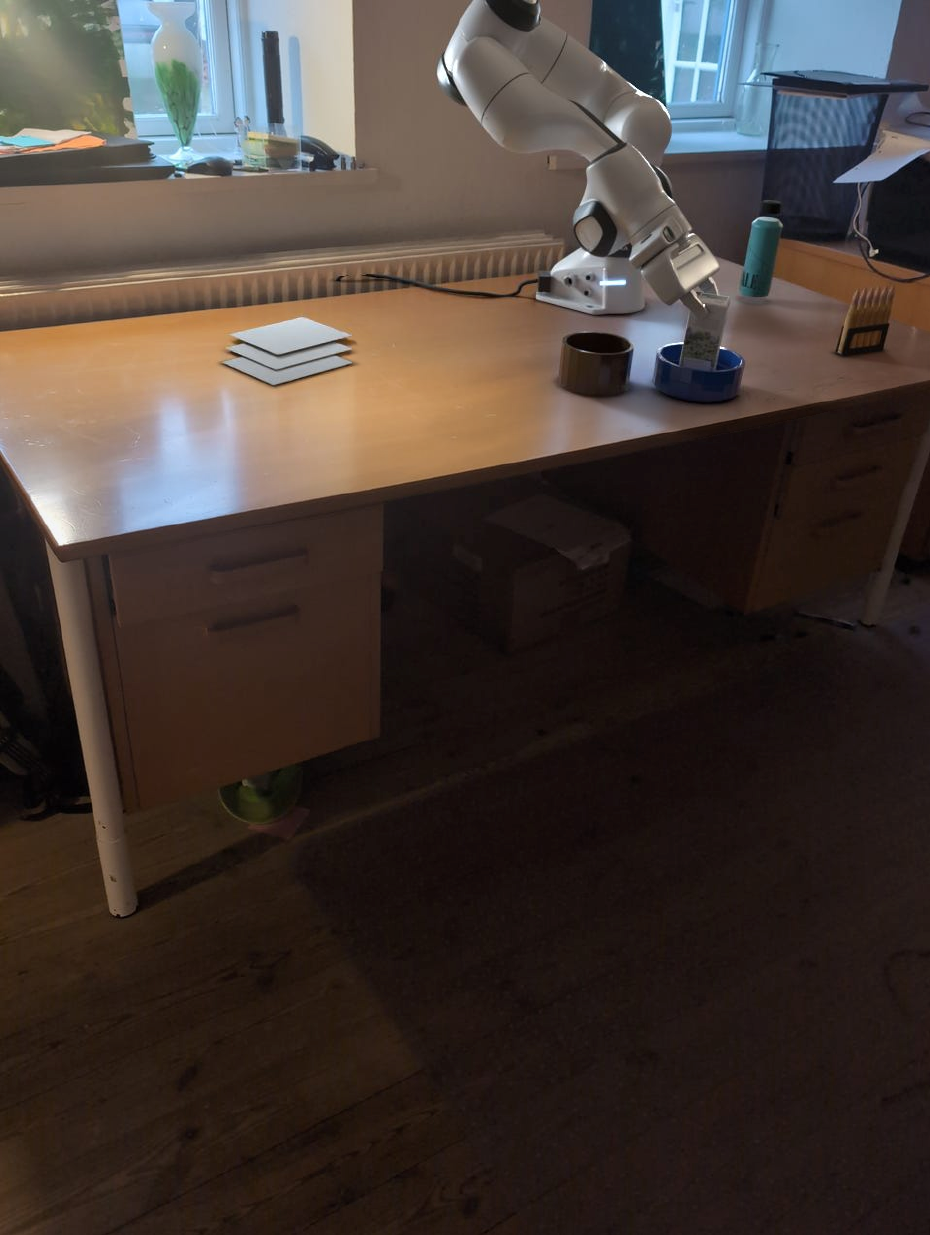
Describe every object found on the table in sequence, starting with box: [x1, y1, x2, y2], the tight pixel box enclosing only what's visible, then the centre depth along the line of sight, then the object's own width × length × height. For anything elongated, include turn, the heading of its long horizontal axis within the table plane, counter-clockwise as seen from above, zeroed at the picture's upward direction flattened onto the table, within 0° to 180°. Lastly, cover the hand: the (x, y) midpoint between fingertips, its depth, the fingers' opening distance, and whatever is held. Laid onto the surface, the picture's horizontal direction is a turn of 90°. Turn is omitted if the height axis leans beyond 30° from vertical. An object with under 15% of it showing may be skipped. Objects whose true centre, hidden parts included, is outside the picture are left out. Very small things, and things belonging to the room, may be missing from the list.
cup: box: [557, 331, 635, 398], centre depth 165 cm, size 12×12×7 cm
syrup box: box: [679, 291, 731, 371], centre depth 163 cm, size 6×6×14 cm
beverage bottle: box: [739, 199, 784, 298], centre depth 209 cm, size 6×7×20 cm
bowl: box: [651, 342, 746, 403], centre depth 166 cm, size 14×14×6 cm
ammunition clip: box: [834, 284, 896, 357], centre depth 185 cm, size 11×2×12 cm, turn 117°
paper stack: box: [221, 316, 353, 386], centre depth 173 cm, size 23×25×1 cm
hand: (712, 312), depth 160 cm, fingers closed on syrup box, 6 cm apart
